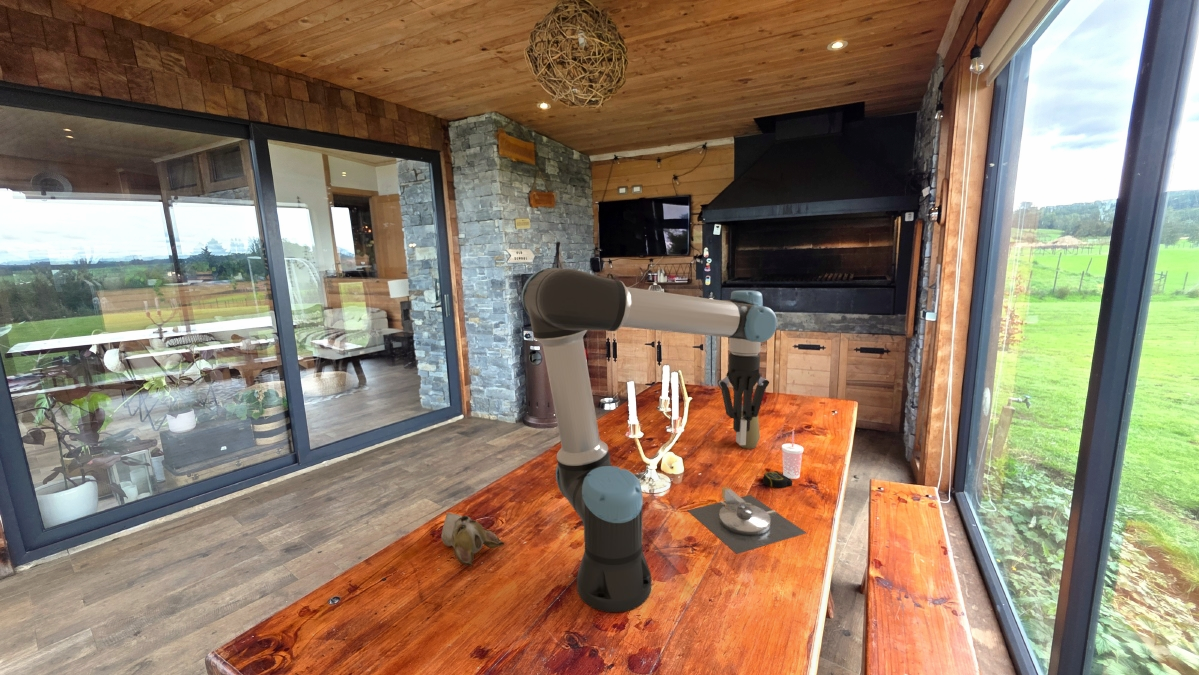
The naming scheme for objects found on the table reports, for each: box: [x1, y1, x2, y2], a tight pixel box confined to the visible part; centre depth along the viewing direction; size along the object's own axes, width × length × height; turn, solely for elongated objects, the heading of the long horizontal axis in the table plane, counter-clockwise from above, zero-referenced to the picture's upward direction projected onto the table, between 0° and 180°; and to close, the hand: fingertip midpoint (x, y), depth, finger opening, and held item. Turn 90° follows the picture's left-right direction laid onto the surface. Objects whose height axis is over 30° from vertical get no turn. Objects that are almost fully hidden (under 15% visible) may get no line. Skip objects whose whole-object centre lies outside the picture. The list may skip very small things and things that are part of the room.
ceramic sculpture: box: [440, 511, 505, 567], centre depth 109 cm, size 11×9×15 cm
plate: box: [687, 494, 807, 555], centre depth 117 cm, size 20×20×2 cm
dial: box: [719, 486, 770, 535], centre depth 118 cm, size 16×12×4 cm
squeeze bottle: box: [738, 405, 761, 450], centre depth 165 cm, size 8×8×18 cm
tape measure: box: [762, 470, 793, 489], centre depth 136 cm, size 7×7×4 cm
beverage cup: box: [781, 430, 804, 480], centre depth 143 cm, size 6×6×14 cm
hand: (740, 443), depth 122 cm, fingers closed
